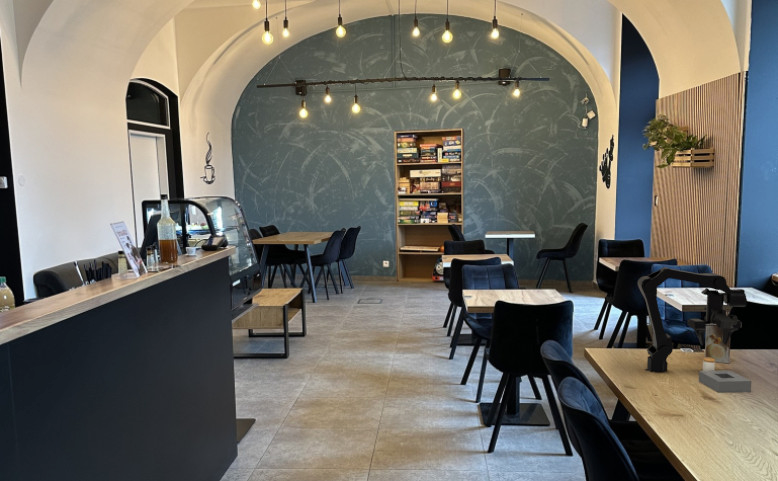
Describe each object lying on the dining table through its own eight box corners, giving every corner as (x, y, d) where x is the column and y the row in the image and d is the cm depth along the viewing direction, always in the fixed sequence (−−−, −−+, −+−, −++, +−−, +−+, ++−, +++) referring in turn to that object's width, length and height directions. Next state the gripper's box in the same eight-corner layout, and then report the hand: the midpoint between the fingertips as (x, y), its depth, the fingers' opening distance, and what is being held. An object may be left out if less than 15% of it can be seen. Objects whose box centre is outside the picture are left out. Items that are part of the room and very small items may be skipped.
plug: (706, 380, 216) (707, 360, 215) (700, 377, 220) (701, 357, 219) (716, 380, 216) (717, 360, 216) (710, 377, 220) (711, 357, 220)
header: (718, 395, 201) (718, 381, 201) (698, 383, 213) (699, 371, 213) (750, 394, 202) (751, 380, 201) (729, 383, 213) (729, 370, 213)
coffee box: (728, 359, 242) (730, 323, 241) (729, 364, 237) (731, 326, 235) (704, 357, 247) (705, 321, 245) (704, 361, 241) (706, 324, 240)
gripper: (704, 310, 212) (702, 351, 213) (752, 309, 212) (750, 350, 214) (687, 304, 223) (685, 343, 224) (733, 303, 223) (731, 342, 225)
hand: (713, 344), depth 221 cm, fingers open, 9 cm apart
